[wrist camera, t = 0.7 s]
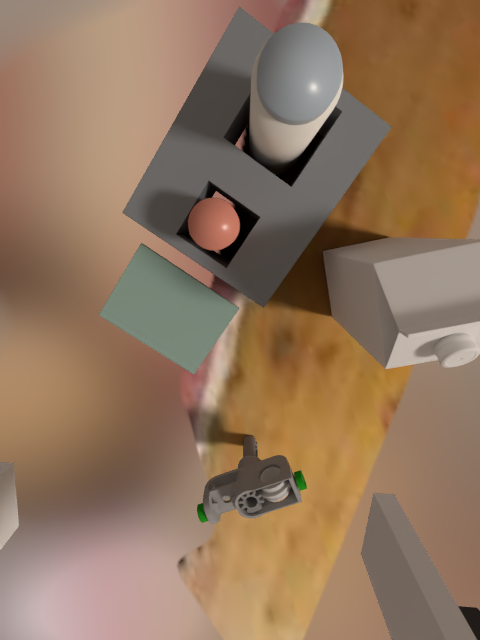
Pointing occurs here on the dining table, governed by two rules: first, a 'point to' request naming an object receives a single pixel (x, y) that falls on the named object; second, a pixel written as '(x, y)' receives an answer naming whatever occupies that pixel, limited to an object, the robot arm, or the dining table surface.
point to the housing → (248, 170)
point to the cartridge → (292, 93)
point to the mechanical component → (252, 487)
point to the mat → (168, 309)
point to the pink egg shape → (213, 224)
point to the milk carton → (408, 298)
